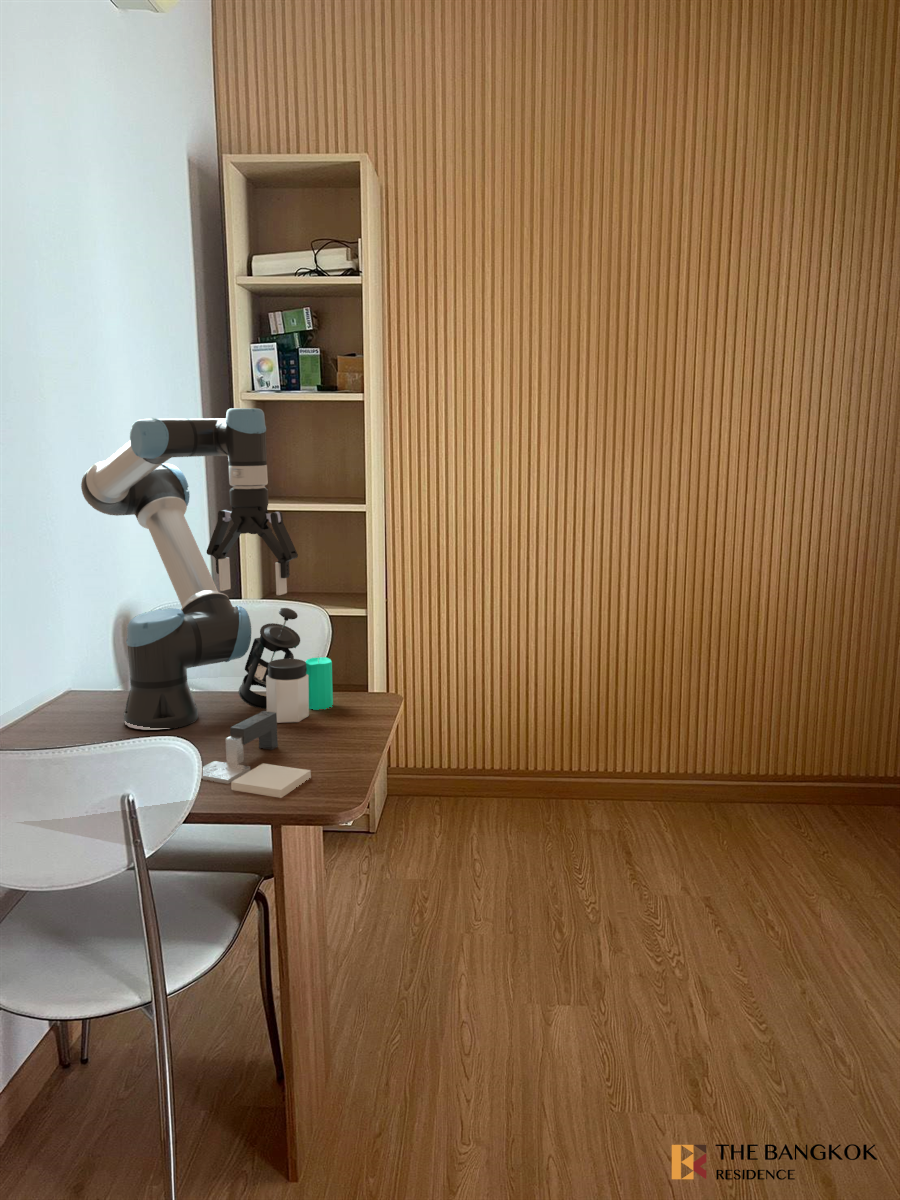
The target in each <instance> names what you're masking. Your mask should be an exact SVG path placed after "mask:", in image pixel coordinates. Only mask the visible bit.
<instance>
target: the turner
mask: <svg viewBox="0 0 900 1200" xmlns="http://www.w3.org/2000/svg"><path fill="white" fill-rule="evenodd" d="M229 731H230V736H228V737H225V755H226V756H225V757H226V762H225V761H218V760H213V761H211V762H209V763H208V764H206V765H204V766H202V767H203V780H202V781H207V780H210V781H209V782H213V781H214V783H219V784H225V785H226V784H227V785H229V784H231V782H232V781H234V780H236V779H237V778H239V777H240V776H242V775H244V774H246V773H247V772H249V771H251V770H252V769H251V765H250V766H249V765H243V764H241V763H244V761H245V758H244V745H247V744H249V743H251V742H252V741H254V740H257V739H258V748H259V749H261V748H263V749H262V750H268V749H269V750H268V751H270V750H271V751H273V750H275V749H277V748H278V745H279V744H278V723H277V715H276V713H275V712H267V710H262V711H260V712H259V713H256V714H254V715H252V716H250V717H248V718H247V719H244V720H241V722H240V721H239V723H236V724H234V725H233V726H230V727H229Z"/></svg>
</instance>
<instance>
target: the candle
mask: <svg viewBox="0 0 900 1200" xmlns="http://www.w3.org/2000/svg"><path fill="white" fill-rule="evenodd" d="M305 662H306V667H307V671H306V674H308V679H309V710H311V709H313V711H320V710H319V709H324V710H327V709H326V708H328V709H330V708H329V707H331V708H333V706H334V693H333V691H334V689H333V684H334V683H333V661H332V659H331V658H329V657H325V656H323V657H321V656H320V657H319V655H317V657H311V658H308V659H306V660H305ZM332 705H333V706H332Z"/></svg>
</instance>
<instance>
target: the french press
mask: <svg viewBox="0 0 900 1200" xmlns="http://www.w3.org/2000/svg"><path fill="white" fill-rule="evenodd" d="M278 614H279V615H280V616H281V617H282V618H283V620H284V622H283V624H279V623H271V622H270V623H265V624H264V625H262V626H261V627H260V629H259V633H260V637H256V638H254V639H253V642H252V646H251V648H250V651H249V654H248V657H247V660H246V663H245V666H244V671H245V672H246V673H247V674H246V675H244V677H243V680H242V682H241V684H240V686H239V688H238V696H239V697H240V699H241V700H242V701H243V702H244V703H246V704H247V705H249V706H251V707H253V708H256V709H260V710H261V709H262V710H267V703H266V695H262V694H258V693H256V692H254V691H252V690H251V687H252V686H258V687H262V688H265V689H266V676H267V675H268V663H269V662H271V661H274V658H275V654H276V652H281V651H282V652H283V653H284V656H283V659H295V657H294V654H293V652H292V651H291V650H290V649H296V648H297V647H299V645H300V644H301V637H300V635H299V634H298V633H297V632H296V630H294V629H292V628H291V627H289V626H286V623H287V621H289V620H297V619H298V616H299V615H298V613H297V612H296V611H295V610H293V609H292V608H288V607H281V608H279V610H278ZM265 649H267V650H268V651H270V652H273V653H272V655H271V659H270V661H269V662H268V661H266V660H264V659H263V658H262V656H263V653H264V650H265Z"/></svg>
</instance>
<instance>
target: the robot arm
mask: <svg viewBox="0 0 900 1200" xmlns="http://www.w3.org/2000/svg"><path fill="white" fill-rule="evenodd" d="M188 457H189V458H190V457H191V458H192V457H227V458H228V459H227V460H228V461H227V462H228V483H229V485H230V486H231V488H230V489H229V504H230V506H231V510H229V509H223V510H219V511H218V512H217V522H216V524H215V526H214V527H215V528H214V529H213V533H212V535H211V538H210V541H209V544H208V546H207V549H206V554H207V555H208V556H212V557H213V558H214V560H215V571H216V574H217V575H218V576H219V578H218V579H219V589H218V588H217V586H216V584H215V581H214V579H213V576H212V575H211V573H210V570H209V568H208V566H207V563H206V561H205V559H204V556H203V554H202V552H201V550H200V548H199V545H198V544H197V541H196V540H195V536H194V535H193V532H192V530H191V528H190V526H189V524H188V522H187V519H186V517H185V514H186V511H187V508H188V505H189V503H190V490H189V489H188V488H189V484H188V481H187V479H186V476H185V475H184V473H183V471H182V470H181V469H180V468H178V466H176V465H174V464H171V463H165V462H167V461H168V460H170V459H171V458H188ZM267 461H268V460H267V426H266V420H265V412H264V411H263V410H262V409H261V408H257V407H256V408H251V407H249V408H248V407H247V408H246V407H245V408H244V407H242V408H241V407H240V408H235V407H234V408H229V409H227V410H226V415H225V418H221V417H220V418H219V417H212V418H211V417H210V418H156V417H151V418H144V419H143V418H142V419H138V420H136V421H134V422H133V424H131V429H130V433H129V441H128V442H126V443H125V444H124V445H123V446H122V447H120V448H119V449H117V450H116V452H115V453H113V454H112V455H110V457H108V458H107V459H106V460H102V461H98V462H95V463H94V464H92V466H90V467H89V468H88V469H87V470H86V471H85V473H84V474H83V477H82V479H81V484H80V487H81V491H82V492H81V493H82V495H83V497H84V500H85V501H86V502H87V504H88V505H90V506H91V507H92V508H93V509H94V510H96V511H97V512H99V513H102V514H105V515H109V516H117V517H118V516H132V515H134V516H135V518H136V520H137V522H138V524H139V525H140V526H141V527H142V528H143V529H144V528H145V529H147V530H148V531H149V534H150V536H151V537H152V540H153V542H154V544H155V545H154V546H155V547H156V549H157V552H158V554H159V557H160V559H161V562H162V564H163V566H164V569H165V570H166V572H167V576H168V578H169V579H170V582H171V585H172V587H173V590H174V591H175V593H176V596H177V599H178V601H179V603H180V606H181V608H174V607H173V608H170V607H169V608H168V607H167V608H163V609H162V608H161V609H160V608H158V609H153V610H150V611H146V612H143V613H140V614H138V615H136V616H134V617H132V618H131V619H130V620H129V622H128V623H127V626H126V629H127V630H126V641H125V642H126V645H127V657H128V670H129V681H130V682H129V683H130V684H129V686H130V688H129V692H128V696H127V700H126V705H125V709H124V710H123V711H124V712H123V721H124V720H125V721H126V722H127V723H130V724H133V725H137V726H143V727H150V728H174V729H179V728H182V727H186V726H188V725H191V724H193V723H195V722H196V721H197V720H198V719H199V713H198V706H197V704H196V703H195V700H194V698H193V694H192V692H191V691H192V690H191V688H190V685H189V682H188V669H191V668H196V667H203V666H207V665H212V664H213V665H214V664H219V663H228V662H230V661H232V660H239V659H240V658H243V657H244V656H245V655H246V654H247V653H248V651H249V649H250V645H251V641H252V624H251V619H250V616H249V613H248V611H247V609H246V608H244V607H242V606H241V605H240V606H239V605H235V606H233V605H232V602H231V600H230V598H229V596H228V595H227V594H226V593H222V592H223V591H227V590H231V583H232V582H231V566H230V557H228V555H227V554H228V553H229V552H230V550H231V549H232V548H233V546H234V545H235V543H236V542H237V540H238V538H240V536H241V534H244V535H245V534H250V535H256V534H257V535H258V536H259V537H260V538H261V539H262V540H263V541H264V543H265V544H266V545H267V547H268V549H270V551H271V552H272V554H273V555H274V556H275V558H276V559H277V560H278V561H277V562H275V563H274V565H275V589H276V590H275V592H276V596H281V595H285V594H287V593H288V587H287V584H288V582H287V578H289V577H290V562H291V561H292V560H295V559H297V558H298V556H299V554H298V551H297V550H296V547H295V545H294V543H293V541H292V539H291V536H290V533H289V532H288V530H287V528H286V525H285V523H284V517H283V513H282V511H275V512H269V510H268V507H269V489H268V488H267V487H266V486H267V485H268V483H269V482H268V481H269V479H268V464H267ZM231 520H232V523H233V524H232V525H231V526H230V529H229V530H228V527H229V524H230V521H231ZM268 522H269V523H270V524H271V527H272V528H271V527H270V525H269V524H268ZM272 529H273V530H272ZM227 530H228V534H227V535H226V533H227ZM273 531H274V532H273ZM274 533H275V534H274ZM225 535H226V536H225ZM219 591H220V592H219ZM178 727H179V728H178Z"/></svg>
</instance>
